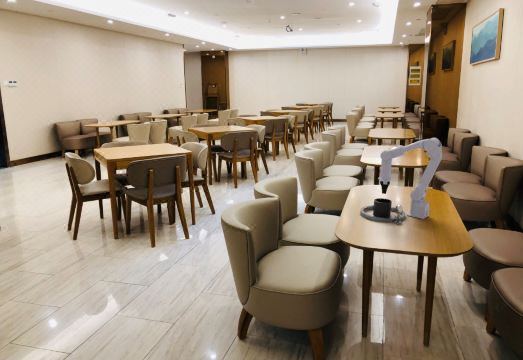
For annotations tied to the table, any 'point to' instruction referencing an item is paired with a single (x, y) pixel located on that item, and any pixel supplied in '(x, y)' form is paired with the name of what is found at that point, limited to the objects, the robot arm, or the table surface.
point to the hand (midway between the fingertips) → (384, 193)
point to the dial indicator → (398, 214)
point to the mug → (382, 208)
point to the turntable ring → (380, 217)
